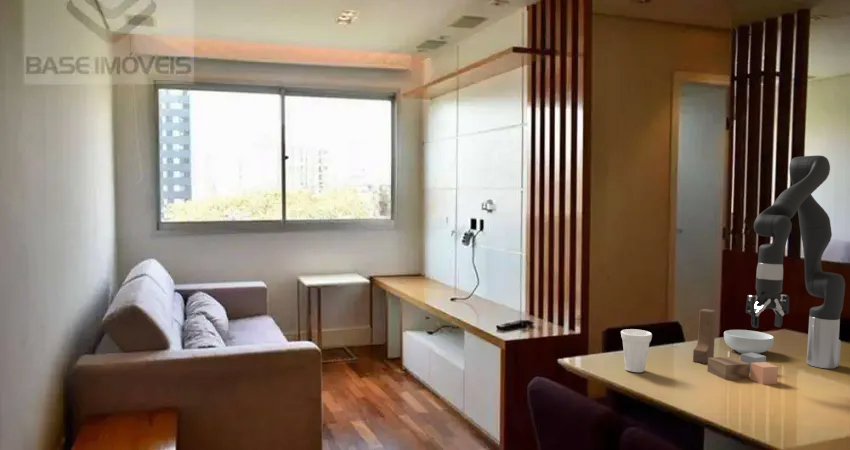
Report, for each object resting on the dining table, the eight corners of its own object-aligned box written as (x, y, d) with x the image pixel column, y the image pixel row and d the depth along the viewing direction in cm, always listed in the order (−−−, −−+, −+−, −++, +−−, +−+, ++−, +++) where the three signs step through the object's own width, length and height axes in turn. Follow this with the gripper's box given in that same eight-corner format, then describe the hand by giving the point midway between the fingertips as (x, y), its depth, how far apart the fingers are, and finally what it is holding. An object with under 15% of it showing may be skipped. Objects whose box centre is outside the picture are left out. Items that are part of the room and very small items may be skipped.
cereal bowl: (774, 351, 249) (775, 333, 248) (770, 360, 235) (772, 341, 234) (726, 344, 258) (727, 326, 258) (720, 353, 244) (721, 334, 243)
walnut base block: (730, 371, 221) (731, 356, 221) (749, 379, 213) (749, 364, 212) (707, 372, 219) (708, 357, 219) (725, 380, 211) (725, 365, 210)
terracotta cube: (764, 378, 213) (765, 362, 213) (777, 383, 208) (778, 366, 207) (750, 379, 212) (751, 362, 211) (762, 384, 206) (763, 367, 206)
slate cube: (750, 367, 225) (751, 352, 225) (765, 372, 220) (766, 356, 220) (740, 369, 223) (740, 353, 222) (754, 374, 218) (755, 357, 217)
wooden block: (705, 364, 228) (708, 313, 227) (692, 361, 231) (694, 311, 230) (713, 359, 235) (716, 310, 234) (700, 356, 238) (703, 308, 237)
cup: (655, 370, 218) (657, 332, 218) (642, 377, 211) (644, 337, 210) (627, 364, 225) (629, 327, 224) (614, 370, 218) (615, 332, 217)
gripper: (779, 275, 213) (776, 324, 214) (742, 275, 210) (739, 325, 211) (797, 278, 205) (794, 329, 206) (758, 279, 202) (755, 330, 203)
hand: (766, 327), depth 208 cm, fingers open, 8 cm apart
